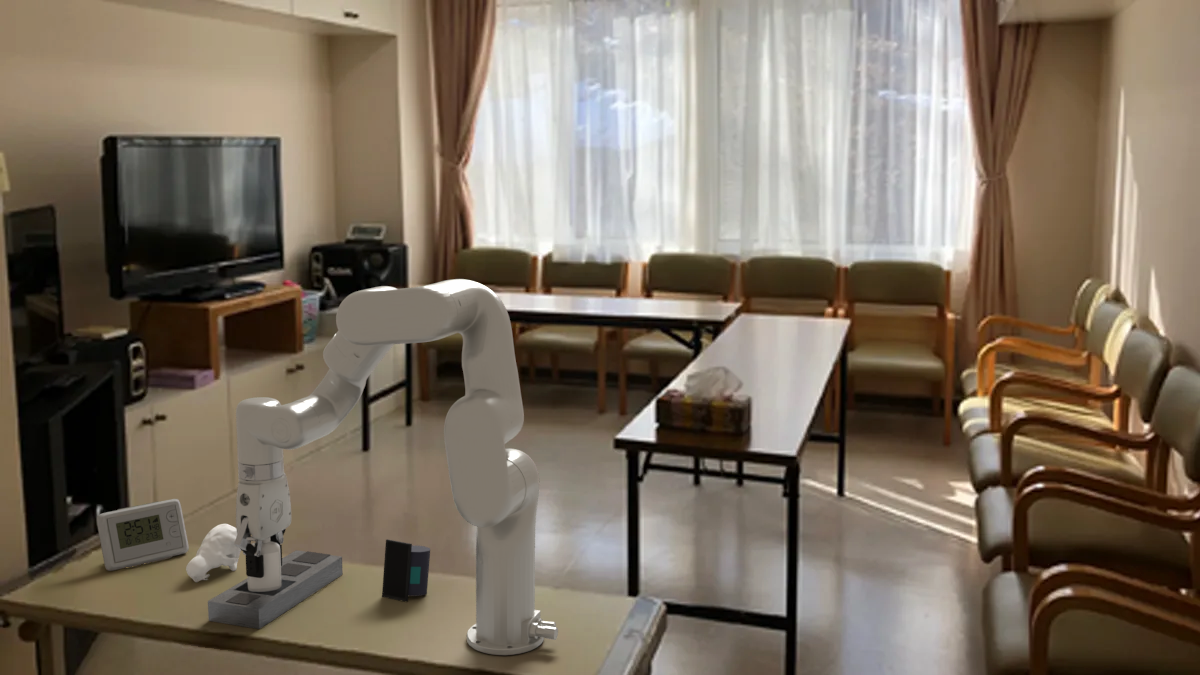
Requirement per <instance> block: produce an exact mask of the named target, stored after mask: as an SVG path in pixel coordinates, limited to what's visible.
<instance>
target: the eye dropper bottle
mask: <svg viewBox="0 0 1200 675" xmlns="http://www.w3.org/2000/svg"><path fill="white" fill-rule="evenodd" d="M251 544H252V545H253V546H254V547H255V542H253V543H251ZM280 545H281V544H280ZM280 545H279V544H278V543H275V542H272V541H270V537H269V538H267V539H265V540H262V547H261V554H260V555H263V561H264V576H263V577H262V578H256V577H250V576H247V575H246V577H247V578H248V590H249V591H251V592H266V591H273V590H277V589H279V588H280V587H281V556H280ZM247 578H246V579H247Z"/></svg>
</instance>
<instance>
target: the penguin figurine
mask: <svg viewBox="0 0 1200 675" xmlns="http://www.w3.org/2000/svg"><path fill="white" fill-rule="evenodd" d="M236 537H237V529H236V526H233V525H230V524H228V523H221V524H217V525H216V526H214V527H213V528H211V529H210V531H209V532H207V534H206V535H205V537H204V538H203V540H202V542H201V544H200V547H199V548H198V549H197V551H196V554H195V556H194V557H193V558H192V559H191V560H189V562H188V563H187V564H186V568H185V571H186V573H187V576H188V577H190V578H191V579H192V580H193V582H195V583H198V582H200V581H209V579H208V578H209V577H210V573H208V572H209V571H211V570H213V569H215V568H219V567H221V566H224V567H228V568H229V569H230V570H231V571H232V572H235V571H236V570H237V568H238V562H239V558H240V554H241V552H242V550H241V549H240V548H238V547H237V546H235V544H234V543H235V540H236ZM207 573H208V574H207Z"/></svg>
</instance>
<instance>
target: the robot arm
mask: <svg viewBox="0 0 1200 675" xmlns="http://www.w3.org/2000/svg"><path fill="white" fill-rule="evenodd" d="M510 319H511V318H510V315H509V313H508V310H507V308H506V306H505V304H504V302H503V301H502V300H501V298H500V297H499V296H498V295H497V293H495V292H494V291H493V290H492V289H490V288H489V287H487V286H486V285H484V284H482V283H480V282H477V281H475V280H470V279H464V278H455V279H447V280H442V281H438V282H435V283H431V284H430V283H429V284H426V285H421V286H414V287H405V288H404V287H403V288H396V287H394V286H391V285H390V286H388V285H381V286H375V287H371V288H365V289H361V290H360V289H359V290H358V291H357V290H356V291H354V292H352V293H350V294H348V295H347V296H345V297H344V299H343V300H341V303H340V304H339V306H338V307H337V311H336V315H335V321H336V324H335V325H336V328H337V331H336V333H335V334H334V335H333V336H332V338H330V341H328V343H327V344H326V345H325V347H324V349H323V352H322V356H323V357H322V358H323V361H324V363H325V365H326V366H327V367H328V370H327V372H326V374H325V375H324V377H323V379H321V381H320V382H319V383H318V385H317V386H316V388H314V390H313V391H312V392H311V393H310V394H309V395H308V396H305V397H302V398H299V399H297V400H294V401H292V402H289V403H285V404H281V402H280V401H279V400H277V399H276V398H274V397H273V398H272V397H268V396H265V397H263V396H262V397H261V396H259V397H256V396H255V397H250V398H245V399H243V400H241V401H239V402H238V404H237V405H236V408H235V418H236V419H235V420H236V421H235V423H236V427H235V428H236V449H237V472H238V474H237V475H238V476H237V477H238V483H237V491H236V502H235V504H236V505H235V528H236V529H237V537H236V540H235V543H234V544H235V546H237V547H238V548H240V549H241V552H242V554H243V555H244V556H245V575H246V577H247V576H250V577H256V578H262V577H263V576H264V561H263V555H260V554H261V547H262V540H265V539H267V538H269V537H270V541H272V542H275V543H278V544H279V545H280V556H281V566H282V558H283V547H282V546H283V543H284V535H285V532H286V529H287V528H288V527H290V525H291V524H292V505H291V495H290V494H291V493H290V488H289V487H290V486H289V482H288V477H287V474H286V472H285V465H284V464H285V463H284V462H285V461H284V450H286V451H287V450H289V451H292V450H296V449H300V448H301V447H305V446H307V445H308V444H310V443H312V442H314V441H317V440H319V439H322V438H325V437H326V436H328V435H329V434H331V433H332V432H334V431H335V430H336V429H337V428H338V427H339V425H340V424H342V422H343V421H344V420H345V419H346V417H347V416H348V415H349V414H350V413H351V411H352V410H353V409H354V408H355V406H356V405H357V403H358V402H359V400H360V399H361V396H362V394H363V392H364V389H365V387H366V384H367V380H368V378H369V377H370V376H371V374H372V373H373V371H375V369H376V368H377V366H378V365H379V364H380V362H381V361H382V360H383V359H384V358H385V356H386V355H387V354H388V352H389V351H390V350H391V349H392V348H393V347H394V345H400V344H402V345H403V344H417V343H427V342H433V341H439V340H441V339H444V338H447V337H450V336H453V335H455V334H459V335H461V337H462V348H461V349H462V351H461V368H462V371H463V372H462V373H463V379H464V388H465V394H464V396H462V397H460V398H458V399H457V400H456V401H455V402H454V403H453V404H452V405H451V406H450V408H449V409H448V411H447V413H446V416H445V418H444V419H445V420H444V424H443V425H444V427H443V438H444V439H443V440H444V446H445V447H444V448H445V454H446V462H447V466H448V467H447V470H448V475H449V476H448V477H449V480H450V486H451V487H450V489H451V493H452V498H453V502H454V504H455V505H454V506H455V507H456V510H457V511H458V513H459V515H460V516H461V517H462V518H463V519H464V520H465V521H466V522H467V523H469V524H471V525H472V526H475V527H476V530H475V531H476V533H475V609H476V610H475V611H476V612H475V613H476V614H475V616H476V617H475V618H476V619H475V623H474V624H473V625H472V626H470V628H468V630H467V632H466V641H467V642H466V643H468V645H469V646H470V648H472V649H474V650H476V651H477V652H481V653H483V654H488V655H495V656H512V655H520V654H525V653H528V652H530V651H533V650H534V649H536V648H538V647H539V646H541V645H542V643H543V642H544V640H545V639H547V640H554V641H556V640H557V639H558V635H559V634H558V633H559V629H558V627H557V623H556V622H555V621H550V620H548V621H546V620H543V619H542V618H541V610H538V609H536V607H535V606H536V605H535V602H536V596H535V595H536V591H535V590H536V588H535V586H536V579H535V578H536V576H535V575H536V565H535V564H536V523H537V521H536V520H537V512H538V503H539V496H540V486H541V485H540V473H539V469H538V468H537V465H536V463H535V461H534V460H533V459H532V458H531V457H530V455H529V454H527V453H525V452H524V451H522V450H519V449H515V448H506V446H505V445H506V444H508V442H509V441H511V440H513V439H514V438H515V437H516V436H517V435H518V434H519V433H520V432H521V430H522V429H523V426H524V422H525V421H524V420H525V415H524V414H525V410H524V406H523V399H522V392H521V391H522V390H521V385H520V378H519V377H520V376H519V372H518V365H517V362H516V354H515V345H514V337H513V330H512V323H511V320H510ZM252 542H254V543H255V547H254V546H253V545H252V544H253V543H252Z"/></svg>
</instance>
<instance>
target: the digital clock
mask: <svg viewBox="0 0 1200 675" xmlns="http://www.w3.org/2000/svg"><path fill="white" fill-rule="evenodd" d="M181 504H182V503H181V502H180V500H179V498H172V499H166V500H162V501H152V502H149V503H143V504H139V505H134V506H128V507H124V508H118V509H117V510H116V509H115V510H112V511H107V512H103V513H100V514H98V515H97V516H96V526H97V531H98V537H99V542H100V547H101V548H100V549H101V552H102V558H103V564H104V567H105V570H106V571H112V572H113V571H117V570H120V569H124V568H125V567H131V568H133V567H132V566H135V567H138V566H137V565H139V566H142V565H141V564H143V565H145V564H144V563H147V564H150V562H152V563H155V561H156V562H159V561H163V560H167V559H168V560H169V559H172V557H175V556H180V555H183V554H185V553H187V552H189V549H190V548H189V546H190V545H189V541H188V536H187V531H186V525H185V520H184V515H183V509H182V505H181ZM125 569H126V568H125Z"/></svg>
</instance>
